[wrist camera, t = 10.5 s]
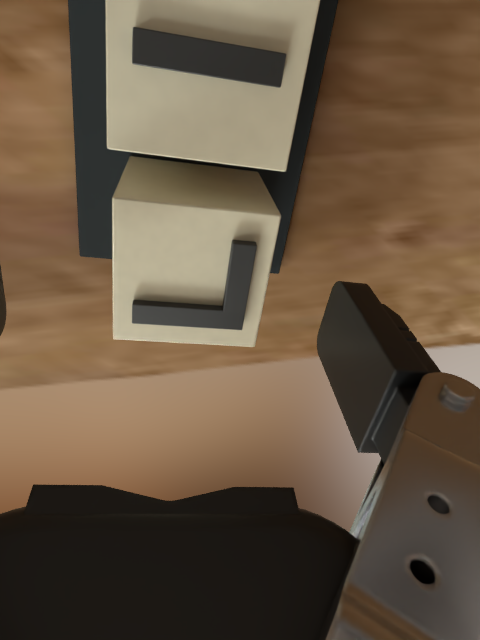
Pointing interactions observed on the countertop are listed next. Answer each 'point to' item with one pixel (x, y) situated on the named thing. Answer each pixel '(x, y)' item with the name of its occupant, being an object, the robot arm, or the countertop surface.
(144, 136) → the tile
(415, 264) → the countertop surface
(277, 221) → the tile
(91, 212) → the word mat
